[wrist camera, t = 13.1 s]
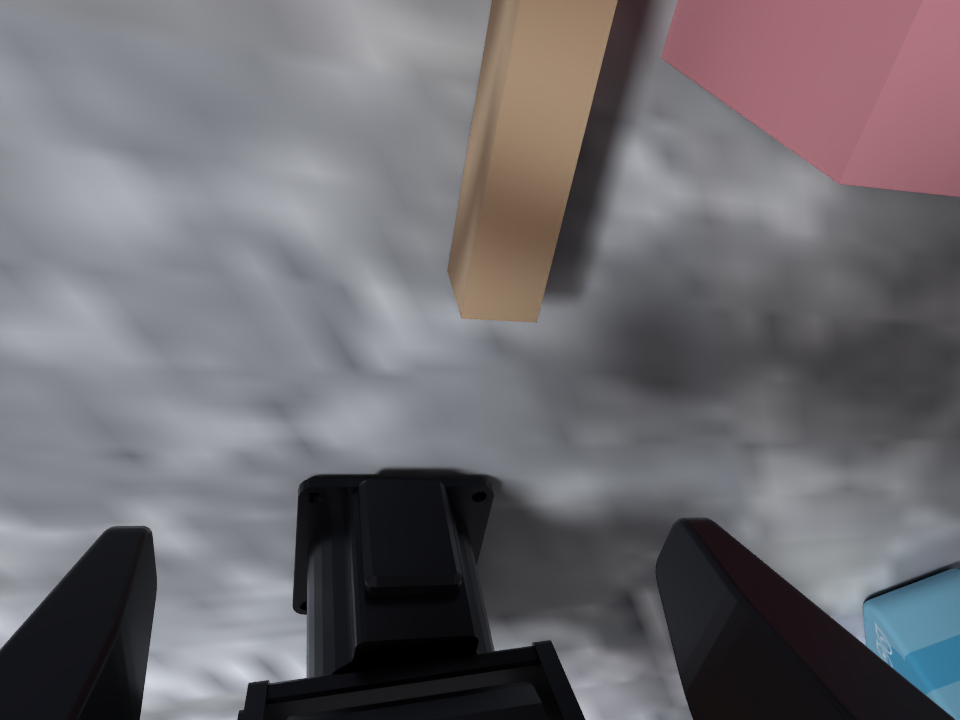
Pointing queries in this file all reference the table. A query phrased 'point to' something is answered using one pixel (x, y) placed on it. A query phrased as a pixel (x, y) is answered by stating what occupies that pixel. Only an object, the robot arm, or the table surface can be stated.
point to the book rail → (524, 151)
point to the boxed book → (837, 81)
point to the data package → (921, 635)
